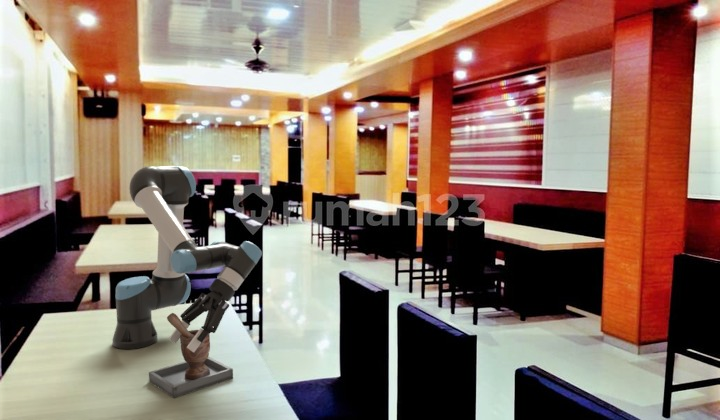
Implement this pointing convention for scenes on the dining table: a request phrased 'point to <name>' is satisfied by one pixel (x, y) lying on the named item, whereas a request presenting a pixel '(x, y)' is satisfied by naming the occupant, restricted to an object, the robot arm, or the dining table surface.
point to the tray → (178, 385)
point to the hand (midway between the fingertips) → (181, 345)
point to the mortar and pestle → (193, 358)
